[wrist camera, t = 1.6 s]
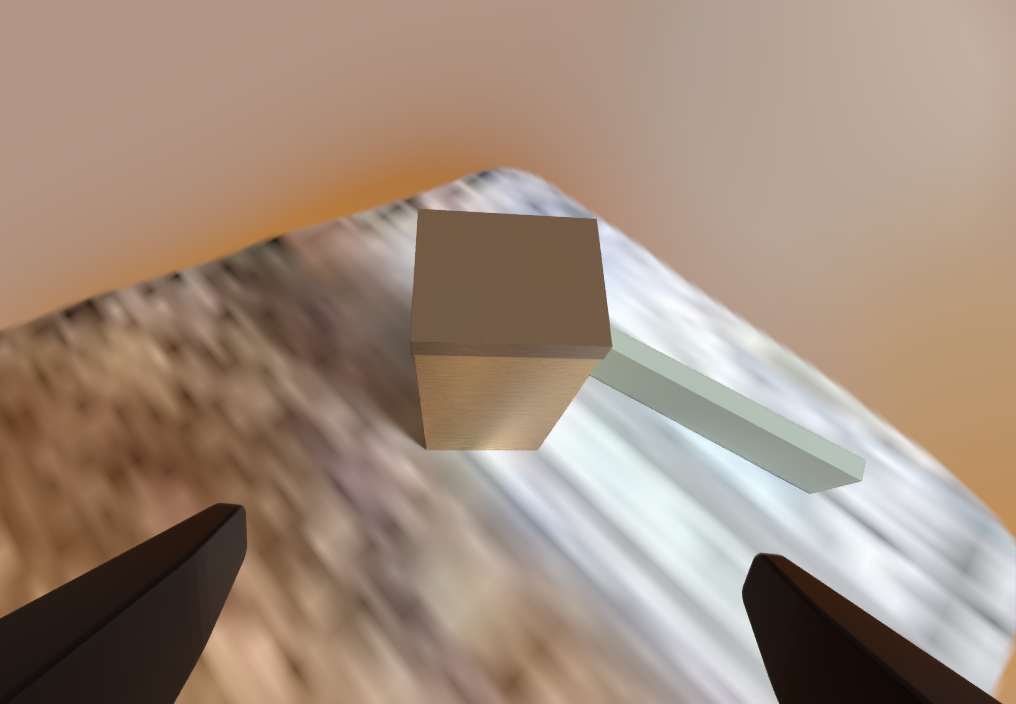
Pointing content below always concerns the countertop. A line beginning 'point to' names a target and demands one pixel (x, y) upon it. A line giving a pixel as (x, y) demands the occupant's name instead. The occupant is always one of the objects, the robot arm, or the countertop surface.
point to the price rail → (727, 417)
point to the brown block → (504, 324)
